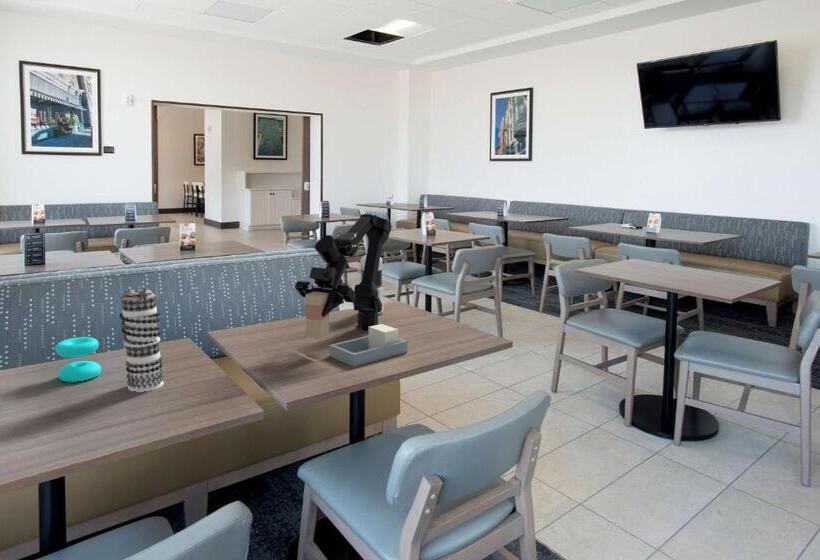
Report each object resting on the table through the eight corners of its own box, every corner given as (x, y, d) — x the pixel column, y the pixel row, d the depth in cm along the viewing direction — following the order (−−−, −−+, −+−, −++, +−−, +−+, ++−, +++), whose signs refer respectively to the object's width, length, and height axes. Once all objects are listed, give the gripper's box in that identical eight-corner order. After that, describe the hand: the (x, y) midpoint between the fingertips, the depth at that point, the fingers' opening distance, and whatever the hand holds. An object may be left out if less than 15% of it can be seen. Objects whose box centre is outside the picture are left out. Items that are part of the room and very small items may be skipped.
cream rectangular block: (381, 345, 181) (381, 324, 180) (398, 351, 175) (398, 329, 174) (368, 348, 178) (368, 326, 177) (385, 355, 172) (385, 332, 171)
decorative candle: (151, 393, 143) (143, 295, 139) (118, 391, 145) (108, 293, 140) (172, 380, 152) (165, 287, 148) (140, 378, 154) (132, 286, 149)
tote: (382, 344, 184) (382, 332, 183) (407, 353, 175) (407, 341, 175) (329, 358, 171) (329, 345, 170) (353, 368, 162) (353, 354, 162)
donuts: (54, 339, 154) (96, 333, 160) (58, 375, 156) (99, 368, 161) (55, 349, 146) (100, 342, 151) (59, 386, 148) (103, 379, 153)
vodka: (383, 315, 221) (383, 237, 215) (359, 315, 220) (358, 237, 214) (383, 309, 230) (383, 234, 224) (360, 309, 229) (359, 234, 224)
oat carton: (315, 333, 177) (314, 291, 174) (329, 335, 175) (328, 292, 172) (306, 337, 172) (305, 294, 170) (320, 339, 171) (319, 296, 168)
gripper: (296, 254, 176) (276, 297, 168) (350, 258, 169) (332, 303, 161) (311, 275, 185) (292, 317, 177) (363, 280, 178) (346, 324, 170)
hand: (315, 315), depth 171 cm, fingers closed on oat carton, 5 cm apart
